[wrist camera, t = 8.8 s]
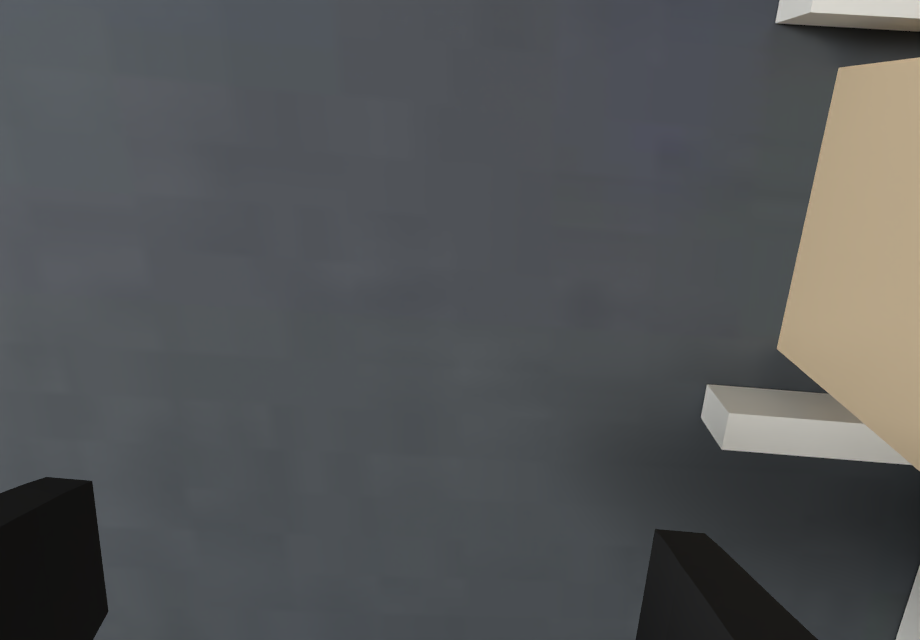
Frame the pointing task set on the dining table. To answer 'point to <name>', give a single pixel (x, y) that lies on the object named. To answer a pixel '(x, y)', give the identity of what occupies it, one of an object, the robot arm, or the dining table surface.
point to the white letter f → (806, 413)
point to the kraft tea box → (864, 255)
